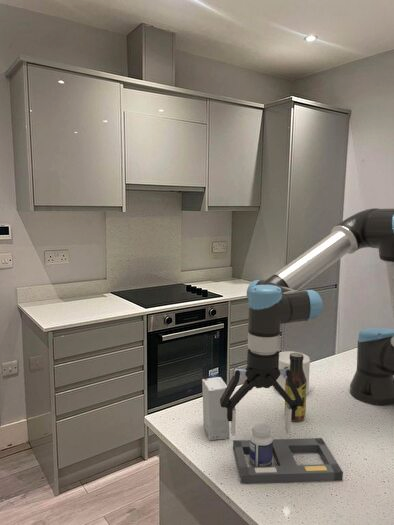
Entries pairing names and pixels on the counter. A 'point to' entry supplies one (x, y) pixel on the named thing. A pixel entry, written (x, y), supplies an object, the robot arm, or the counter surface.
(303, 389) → the sauce bottle
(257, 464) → the pill bottle
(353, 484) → the counter surface
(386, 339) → the robot arm
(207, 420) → the skincare box
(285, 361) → the cup
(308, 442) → the socket panel
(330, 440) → the counter surface
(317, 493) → the counter surface
